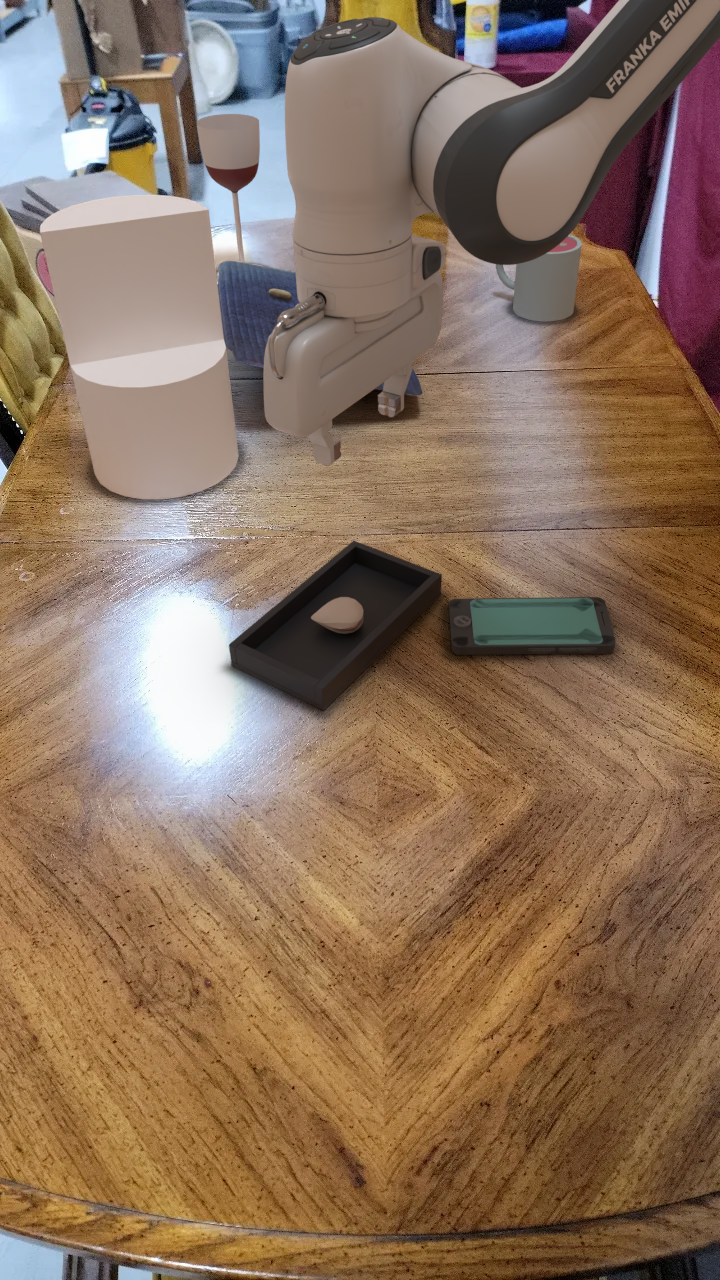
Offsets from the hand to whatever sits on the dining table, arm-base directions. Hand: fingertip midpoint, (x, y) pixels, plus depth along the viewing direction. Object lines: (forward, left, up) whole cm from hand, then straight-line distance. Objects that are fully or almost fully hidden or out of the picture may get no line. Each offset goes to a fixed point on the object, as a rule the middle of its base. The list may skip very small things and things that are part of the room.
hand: (360, 435), depth 84 cm
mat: (+41, -43, -20) cm, 63 cm away
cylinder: (+37, -11, -20) cm, 43 cm away
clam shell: (+1, +4, -19) cm, 19 cm away
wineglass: (+69, -63, -20) cm, 95 cm away
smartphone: (-14, -6, -20) cm, 25 cm away
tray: (+1, +3, -19) cm, 20 cm away
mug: (+22, -76, -20) cm, 81 cm away
